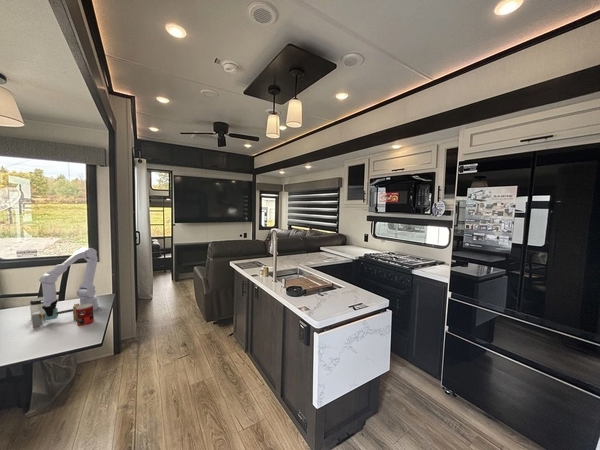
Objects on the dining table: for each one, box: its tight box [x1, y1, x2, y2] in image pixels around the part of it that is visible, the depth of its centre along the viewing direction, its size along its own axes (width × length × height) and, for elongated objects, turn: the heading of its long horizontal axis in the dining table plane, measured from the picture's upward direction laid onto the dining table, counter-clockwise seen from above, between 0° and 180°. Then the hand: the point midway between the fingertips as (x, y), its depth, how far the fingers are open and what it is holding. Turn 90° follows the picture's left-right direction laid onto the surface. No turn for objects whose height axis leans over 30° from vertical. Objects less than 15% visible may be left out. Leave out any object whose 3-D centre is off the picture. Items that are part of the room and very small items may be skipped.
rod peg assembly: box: [31, 302, 80, 329], centre depth 155 cm, size 21×8×8 cm, turn 127°
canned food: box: [76, 304, 95, 327], centre depth 153 cm, size 8×8×11 cm
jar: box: [29, 296, 45, 320], centre depth 162 cm, size 9×8×12 cm
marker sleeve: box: [44, 307, 59, 322], centre depth 153 cm, size 5×5×5 cm
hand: (51, 313), depth 153 cm, fingers open, 7 cm apart
